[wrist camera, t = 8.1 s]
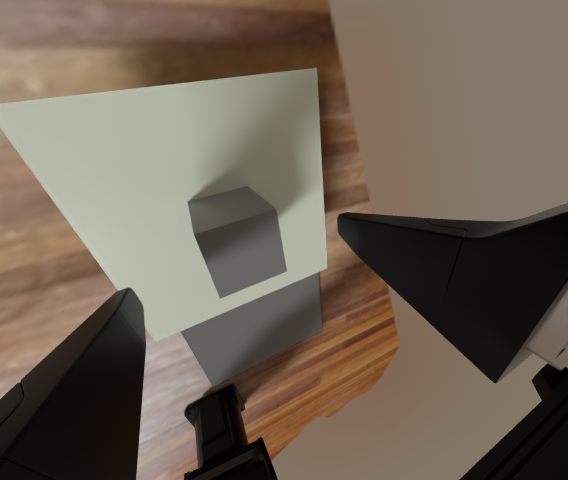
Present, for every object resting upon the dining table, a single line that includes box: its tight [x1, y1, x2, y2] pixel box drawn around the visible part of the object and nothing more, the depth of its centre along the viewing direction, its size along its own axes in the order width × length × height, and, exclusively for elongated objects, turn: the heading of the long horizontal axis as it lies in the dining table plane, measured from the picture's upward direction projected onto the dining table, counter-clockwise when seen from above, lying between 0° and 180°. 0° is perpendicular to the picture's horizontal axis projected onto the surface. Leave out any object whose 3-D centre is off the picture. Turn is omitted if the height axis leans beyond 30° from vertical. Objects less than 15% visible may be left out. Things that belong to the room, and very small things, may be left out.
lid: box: [0, 68, 327, 342], centre depth 12 cm, size 14×14×5 cm
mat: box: [181, 273, 323, 387], centre depth 26 cm, size 16×16×1 cm
